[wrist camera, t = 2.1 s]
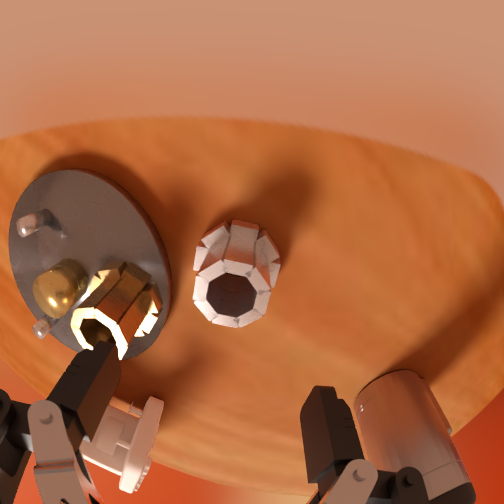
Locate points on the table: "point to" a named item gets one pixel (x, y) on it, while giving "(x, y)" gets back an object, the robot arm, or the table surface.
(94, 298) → the seated gear
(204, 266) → the gear
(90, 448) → the cable organizer
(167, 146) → the table surface
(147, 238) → the carrier
